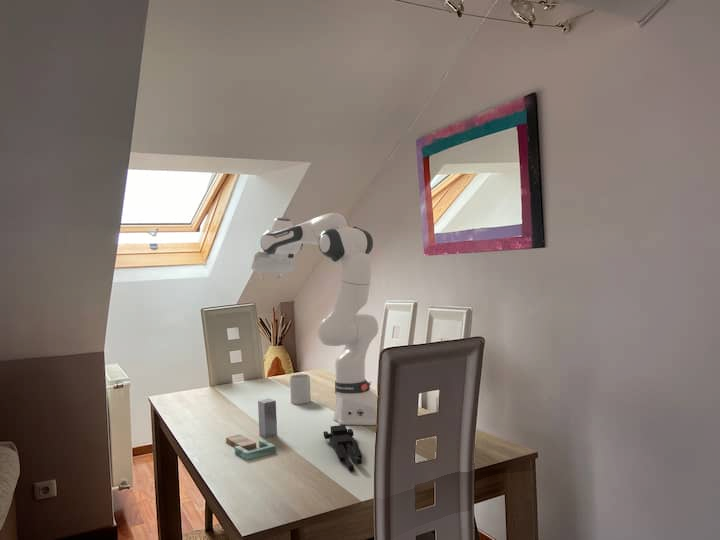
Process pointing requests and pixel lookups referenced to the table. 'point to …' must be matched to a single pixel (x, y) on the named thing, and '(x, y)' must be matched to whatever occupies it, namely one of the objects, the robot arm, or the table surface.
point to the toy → (344, 445)
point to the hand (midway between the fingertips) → (270, 279)
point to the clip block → (267, 418)
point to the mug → (300, 389)
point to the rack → (250, 447)
